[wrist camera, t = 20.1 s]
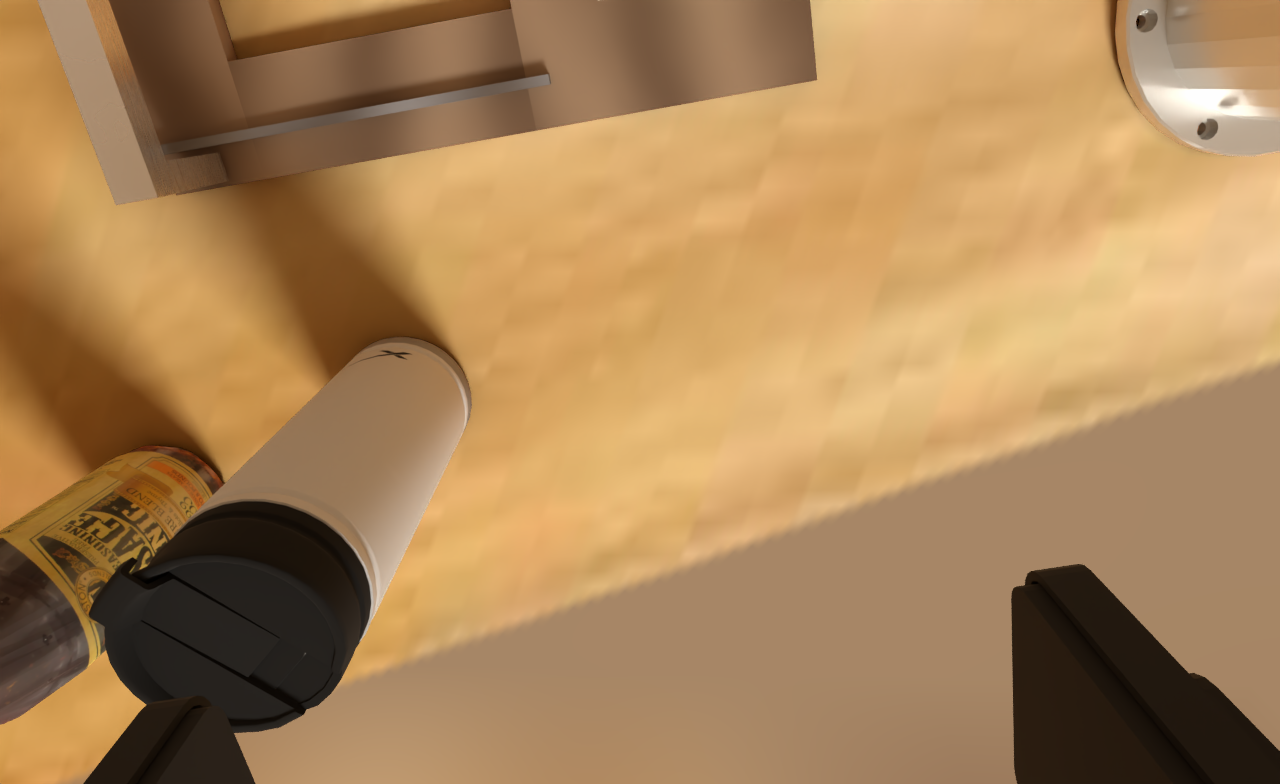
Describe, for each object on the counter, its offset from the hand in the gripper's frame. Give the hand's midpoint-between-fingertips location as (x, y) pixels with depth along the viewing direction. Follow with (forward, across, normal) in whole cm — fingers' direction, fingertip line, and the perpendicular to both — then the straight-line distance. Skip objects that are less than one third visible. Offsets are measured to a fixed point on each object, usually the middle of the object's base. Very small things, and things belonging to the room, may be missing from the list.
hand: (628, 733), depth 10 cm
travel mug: (+31, +12, +5) cm, 33 cm away
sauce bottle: (+31, +25, +8) cm, 40 cm away
